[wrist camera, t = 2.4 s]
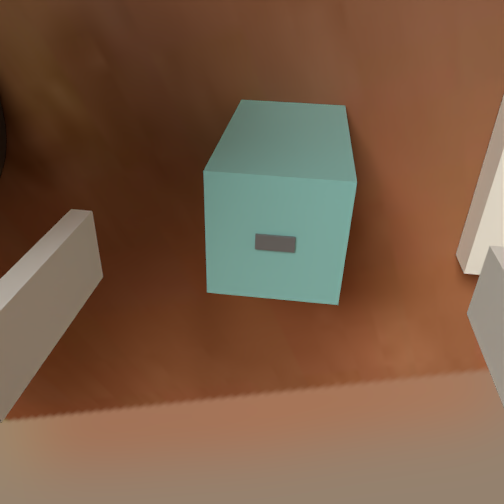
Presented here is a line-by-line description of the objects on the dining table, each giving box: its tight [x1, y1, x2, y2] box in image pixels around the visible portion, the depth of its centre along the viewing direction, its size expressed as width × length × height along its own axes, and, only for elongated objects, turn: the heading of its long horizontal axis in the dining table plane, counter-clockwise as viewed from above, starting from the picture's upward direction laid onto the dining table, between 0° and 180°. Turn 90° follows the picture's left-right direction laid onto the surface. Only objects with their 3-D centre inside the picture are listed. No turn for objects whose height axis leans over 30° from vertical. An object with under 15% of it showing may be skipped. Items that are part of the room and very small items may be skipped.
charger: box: [203, 100, 357, 305], centre depth 21 cm, size 5×5×9 cm
